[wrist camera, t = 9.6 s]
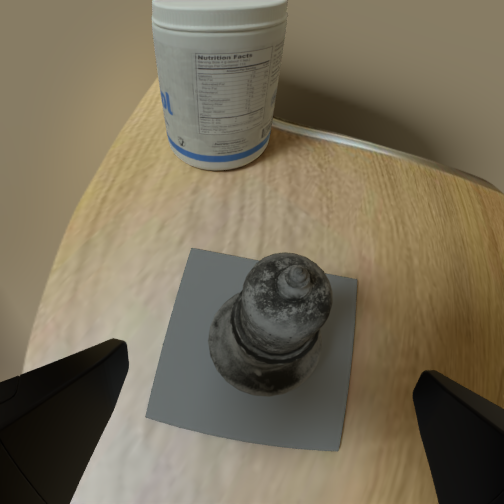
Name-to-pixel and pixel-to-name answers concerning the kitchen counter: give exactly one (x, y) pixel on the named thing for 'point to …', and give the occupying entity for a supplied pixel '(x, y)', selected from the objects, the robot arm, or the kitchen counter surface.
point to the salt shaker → (272, 326)
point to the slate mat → (228, 397)
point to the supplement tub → (218, 76)
